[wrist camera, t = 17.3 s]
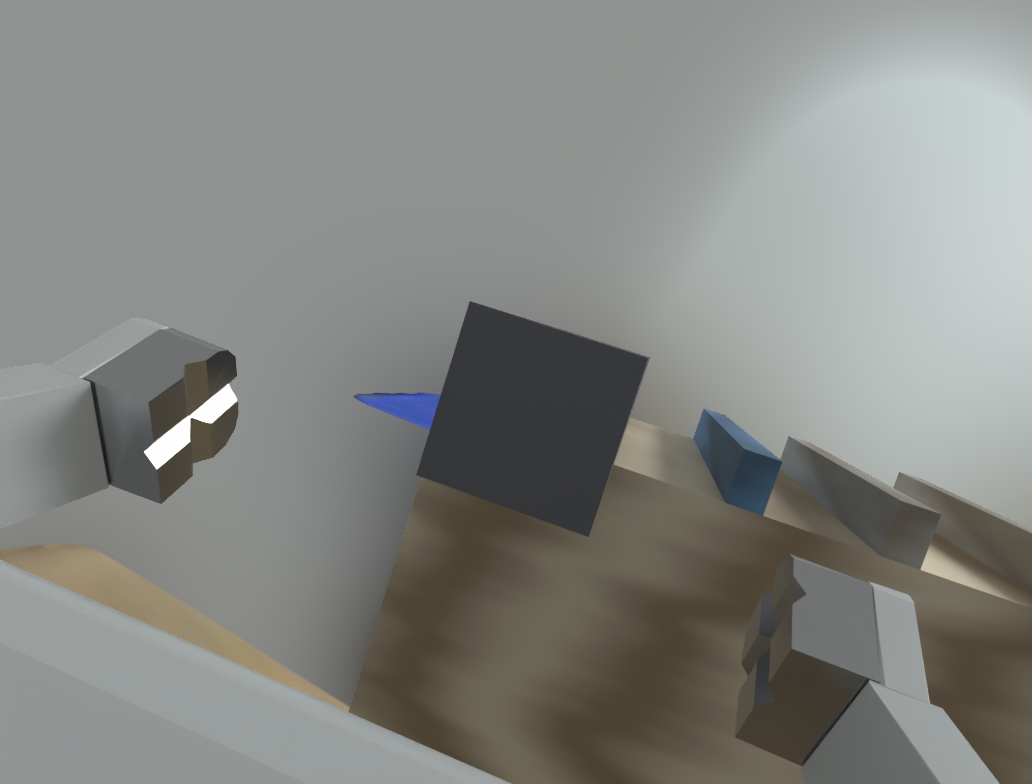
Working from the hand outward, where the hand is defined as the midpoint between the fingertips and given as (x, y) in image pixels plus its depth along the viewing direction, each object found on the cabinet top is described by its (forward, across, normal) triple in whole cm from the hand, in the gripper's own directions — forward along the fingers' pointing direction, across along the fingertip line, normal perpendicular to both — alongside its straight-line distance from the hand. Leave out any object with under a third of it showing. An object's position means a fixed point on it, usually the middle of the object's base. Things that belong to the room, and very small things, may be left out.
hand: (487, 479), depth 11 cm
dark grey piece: (+10, 0, +7) cm, 12 cm away
